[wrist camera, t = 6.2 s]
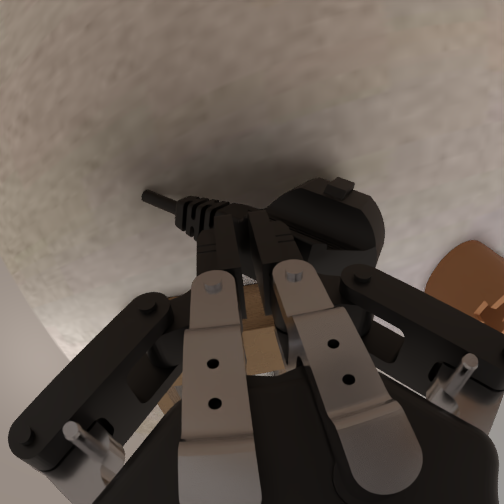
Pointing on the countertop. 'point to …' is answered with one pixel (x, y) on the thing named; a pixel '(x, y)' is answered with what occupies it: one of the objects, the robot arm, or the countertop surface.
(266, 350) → the brown rectangular frame
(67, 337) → the countertop surface
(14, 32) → the countertop surface
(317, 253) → the power plug
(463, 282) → the brown rounded piece
